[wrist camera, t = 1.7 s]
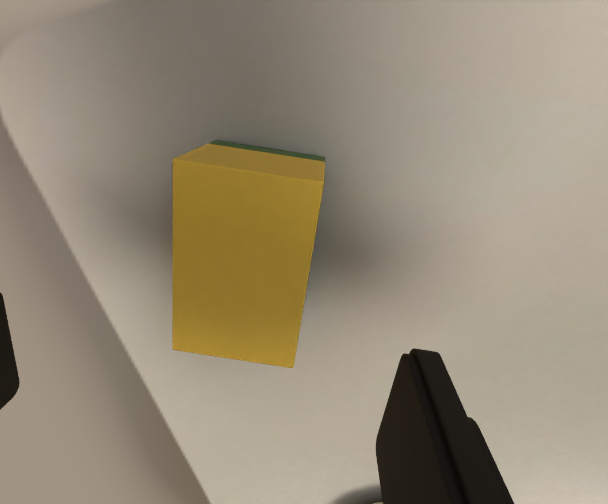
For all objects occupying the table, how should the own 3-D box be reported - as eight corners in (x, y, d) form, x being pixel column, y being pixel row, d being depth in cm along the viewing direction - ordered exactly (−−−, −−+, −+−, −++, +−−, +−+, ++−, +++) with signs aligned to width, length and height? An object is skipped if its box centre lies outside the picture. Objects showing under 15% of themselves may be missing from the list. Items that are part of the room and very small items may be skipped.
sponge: (214, 139, 15) (171, 158, 11) (325, 157, 15) (324, 182, 11) (208, 290, 18) (172, 350, 14) (301, 304, 18) (293, 368, 14)
